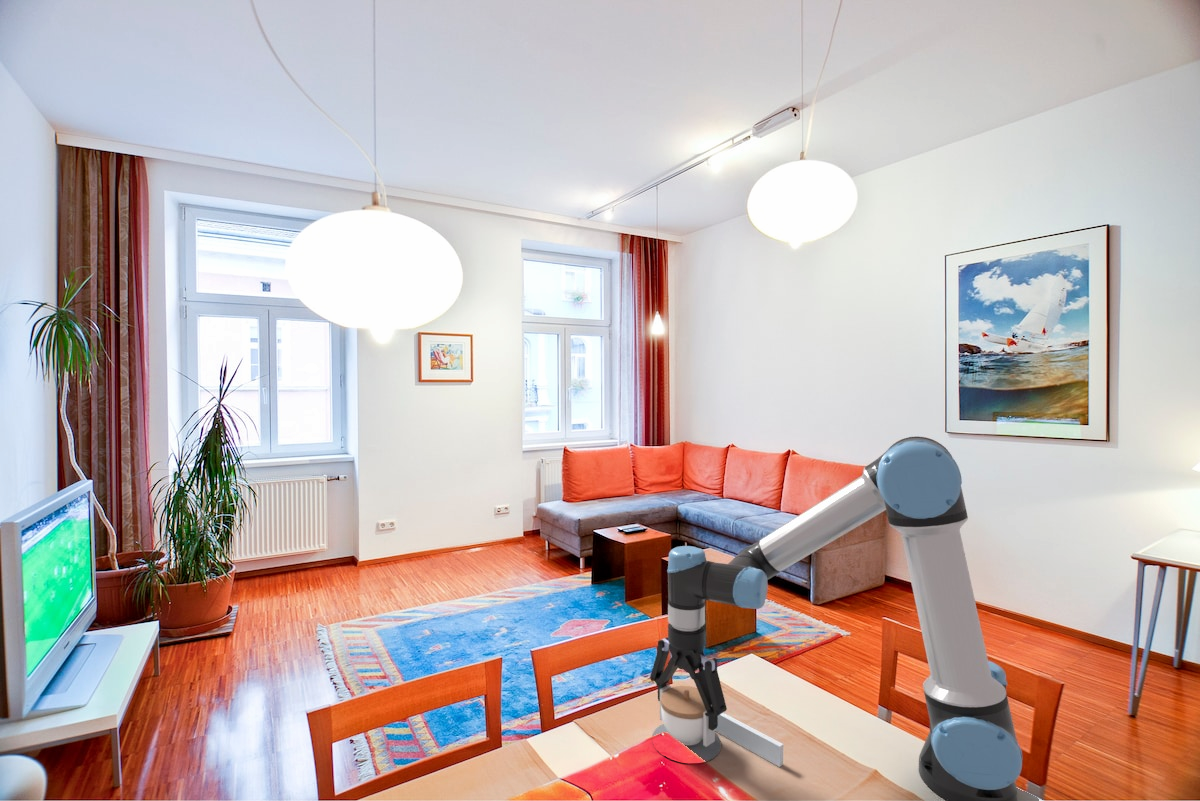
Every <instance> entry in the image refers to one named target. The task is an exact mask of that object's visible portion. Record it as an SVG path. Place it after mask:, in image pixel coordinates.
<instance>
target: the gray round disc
mask: <svg viewBox="0 0 1200 801" xmlns="http://www.w3.org/2000/svg"><path fill="white" fill-rule="evenodd" d="M662 732H667V730H666V729H665V726H664V724H663V723H662V724H661V725H659V726H657V727H656V728H655V730H653V733H652V735H651V737H652V736H654V735H656V734H659V733H662ZM685 746H687V747H688V748H689V749H690V750H692V751H693V752H694V753H696V754H697V755H698V756H699V757H701V758H702V759H703V760H705V761H706V762H705V763H708V762H709V761H712V760H713V759H715V758H716V757H717V756H718V755H719V754H720V752H721V748H722V742H721V739H720V737H719V735H718V734H717V732H715V741H714V742H713V743H711V744H710V745H708V746H707V747H706V746H704V745H703V739H701V741H700V742H699V743H698V744H695V745H685Z"/></svg>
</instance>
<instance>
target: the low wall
mask: <svg viewBox="0 0 1200 801" xmlns="http://www.w3.org/2000/svg"><path fill="white" fill-rule="evenodd" d="M715 733H718V734H720V736H721V735H722V736H723V737H725V738H727V739H728V740H730V741H732V742H734V743H735V744H738V745H739V746H741V747H742V748H744V749H746V750H748V751H749V752H752V753H753V754H755V755H757V756H759V757H761V758H762V759H764V760H766V761H768V762H770V763H772V764H773V765H774V766H777V767H778V768H781V767H782V766H783V765H784V743H782V742H780V741H778V740H776V739H774V738H772V737H770V736H769V735H766V734H765V733H763V732H761V731H759V730H757V729H755V728H753V727H751V726H749V725H747V724H746V723H744V722H742V721H740V720H738V719H736V718H734V717H732V716H730V715H729V714H728V713H727V714H726V713H725V712H723V713H721V714H720V715H718V726H717V728H716V729H715Z"/></svg>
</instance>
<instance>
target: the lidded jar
mask: <svg viewBox="0 0 1200 801" xmlns="http://www.w3.org/2000/svg"><path fill="white" fill-rule="evenodd" d="M660 701H661V714H662V720H663V721H662V720H661V721H662V724H664V726H665V729H666V730H667V732H668V733H669V734H670V735H671V736H672V737H674V738H675V739H677V740H678V741H680V742H681V743H683V744H684V745H695V744H698V743H699V742H700V741H701V739H703V712H705V711H706V708H705V706H704V704H703V701H702V699H701V696H700V694H699V691H698V689H697V687H695V686H689V685H676V686H671V688H669V689H667V690H665V691H664V692H663V693H662V695H661V699H660ZM660 701H659V702H660ZM711 706H712V705H711Z"/></svg>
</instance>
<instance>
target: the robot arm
mask: <svg viewBox="0 0 1200 801" xmlns="http://www.w3.org/2000/svg"><path fill="white" fill-rule="evenodd" d="M962 483H963V479H962V474H961V471H960V468H959V465H958V464H957V462H956V460H955V459H954V457H953V455H952V454H951V452H949V449H947V447H946V446H944V445H943V444H942V443H939V442H938V441H936V440H935V439H932V438H929V437H925V436H909V437H905V438H902V439H900V440H897V441H895V443H892V444H891V446H890V447H889V448H887V449H886V451H885V452H884V453H883V454H881V455H880V456H879V457H878V458H877V459H875V460H874V461H872V462H871V463H870V464H868V465H866V466H865V467H863V470H862V475H860V476H859V477H857V478H856V479H854V480H853V481H851V482H849V483H848V484H846V485H845V486H842V488H840V489H838V490H837V491H835V492H834V493H832V494H830V495H828V496H827V497H825V498H824V499H823V500H821V501H820V502H818V503H817V504H815V505H813V506H812V507H810V508H808V509H807V510H805V511H803V512H802V513H801V514H798V515H797V516H795V517H794V518H792V519H791V520H789V521H788V522H786V523H785V524H783V525H781V526H780V527H778V528H777V529H775V530H773V531H772V532H769V534H766V535H765V536H764V537H762V538H761V539H760V540H758V541H756V542H754V543H753V544H751V545H748V546H746V547H744V548H742V549H741V550H740V551H739V552H738V554H737V555H736V556H735V557H734V558H733V559H731V560H730V561H729V562H728V563H723V562H722V563H721V562H715V561H712V560H707V557H706V553H705V551H704V549H702V548H700V547H696V546H691V545H682V546H681V545H680V546H676V547H674V548H672V549H670V551H669V552H668V562H667V564H668V566H667V570H666V572H667V583H668V584H667V592H668V596H667V597H668V599H667V622H668V625H667V637H664V638H661V639H659V640H658V641H657V653H656V655H655V660H654V662H653V666H652V669H651V672H650V676H649V678H650V681H651V682H654V683H655V684H656V688H657V700H658V702H659V720H660V721H662V722H663V720H662V714H661V701H660V699H661V695H662V693H663V692H664V691H665V690H667V689H669V688H672V686H671V685H670V684H669V683H670V680H671V679H672V677H673V676H674V675H675V674H676V671H677V670H678V669H679V670H683V671H684V672H685V673H687V674H689V676H690V679H692V680H693V682H694V684H695V686H696V687H695V688H697V689H698V691H699V694H700V696H701V699H702V701H703V704H704V706H705V708H706V711H705V712H703V745H704V746H706V747H707V746H708V745H710V744H711V743H713V742H714V741H715V733H716V731H715V729H716V728H717V726H718V715H720V714H721V713H725V712H726V711H727V709H728V707H727V704H726V700H725V697H724V692H723V688H722V685H721V681H720V676H719V672H718V660H717V659H716V657H713V658H710V657H709V658H708V657H706V655H705V653H704V648H705V645H706V644H705V643H706V626H705V624H706V619H705V618H706V601H707V602H709V601H711V602H715V603H720V604H724V605H725V604H726V605H730V606H735V607H740V608H742V609H754V610H755V609H756V610H759V609H761V608H763V607H764V605H765V603H766V600H767V596H768V586H769V585H768V584H769V583H768V580H770V579H772V578H773V577H775V576H776V575H778V574H779V573H781V572H783V571H784V570H786V569H788V568H789V567H791V566H792V565H794V564H795V563H798V562H799V561H801V560H803V559H804V558H806V557H808V556H810V555H811V554H813V553H815V552H816V551H818V550H819V549H822V548H823V547H824V546H825V547H826V546H827V545H828V544H830V543H832V542H833V541H835V540H837V539H839V538H840V537H842V536H845V535H846V534H847V533H849V532H850V531H852V530H855V529H856V528H857V527H860V526H861V525H863V524H864V523H866V522H867V521H870V520H871V519H873V518H876V517H877V516H878V515H880V514H881V513H883V512H886V516H887V520H888V525H889V526H890V527H891V528H893V529H894V530H896V531H897V532H899V533H900V536H901V540H902V546H903V550H904V554H905V559H906V564H907V569H908V573H909V574H908V575H909V578H910V583H911V588H912V592H913V596H914V597H913V598H914V602H915V606H916V611H917V616H918V621H919V626H920V630H921V634H922V640H923V644H924V650H925V654H926V659H927V663H928V669H929V673H930V675H928V676H927V678H926V679H925V680H924V681H923V683H922V689H923V693H924V698H925V703H926V708H927V712H928V713H927V714H928V718H929V732H928V735H927V737H926V739H925V742H924V744H923V746H922V748H921V750H920V753H919V756H918V774H919V776H920V779H921V780H922V781H923V783H924V784H925V785H926V786H927V787H928V788H929V789H930V790H932V792H934V793H935V794H937V796H939V797H941V798H943V799H944V800H946V801H1018V800H1017V799H1018V788H1017V784H1016V781H1017V779H1018V778H1019V777H1020V775H1021V772H1022V767H1023V751H1022V748H1021V747H1020V745H1019V742H1018V738H1017V735H1016V731H1015V726H1014V721H1013V717H1012V713H1011V707H1010V704H1009V698H1008V694H1007V686H1008V684H1009V683H1008V682H1007V675H1006V674H1007V673H1006V672H1005V670H1004V669H1003V668H1002V667H1001V666H1000V665H998V664H997V663H995V662H993V661H991V660H989V659H988V654H987V653H988V652H987V649H986V645H985V644H986V643H985V640H984V636H983V635H984V634H983V631H982V627H981V621H980V617H979V613H978V609H977V605H976V604H977V602H976V599H975V595H974V589H973V585H972V580H971V575H970V572H969V567H968V566H969V565H968V563H967V558H966V553H965V548H964V544H963V539H962V536H961V534H962V533H961V531H960V530H961V528H962V526H963V525H964V524H965V523H966V522H967V521H968V519H969V517H968V513H967V507H966V502H965V497H964V492H963V489H962ZM669 653H670V655H671V657H670V659H669V660H668V657H669ZM667 661H668V662H667ZM666 664H667V665H666ZM697 670H698V671H697ZM696 671H697V672H696ZM711 705H712V706H711Z"/></svg>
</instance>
